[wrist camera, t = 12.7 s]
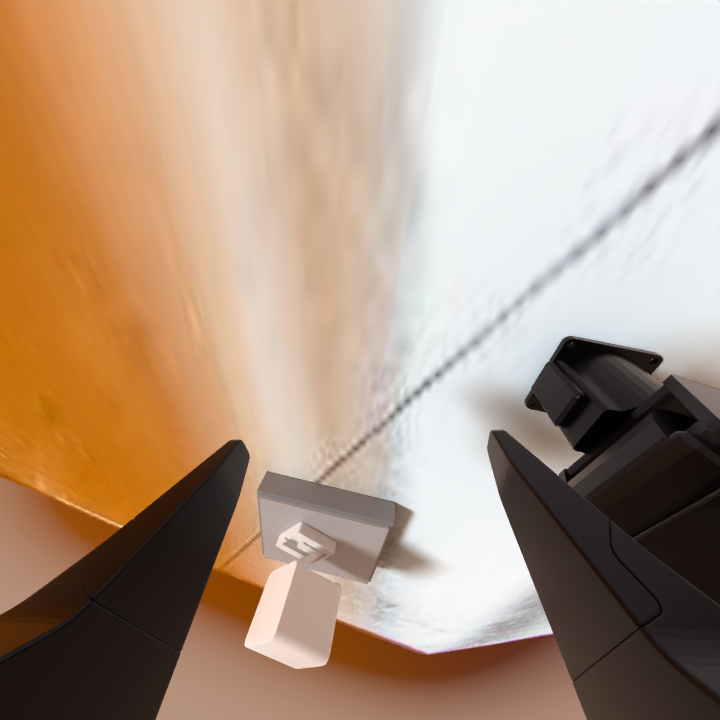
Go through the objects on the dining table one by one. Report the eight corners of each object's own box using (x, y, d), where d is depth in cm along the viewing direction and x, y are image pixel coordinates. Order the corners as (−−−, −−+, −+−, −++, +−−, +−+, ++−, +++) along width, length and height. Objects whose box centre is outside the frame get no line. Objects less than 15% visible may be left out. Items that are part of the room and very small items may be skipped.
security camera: (320, 559, 36) (293, 669, 28) (277, 535, 35) (234, 644, 26) (349, 546, 33) (328, 665, 25) (303, 519, 32) (264, 636, 23)
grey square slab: (395, 502, 32) (394, 528, 30) (372, 561, 41) (369, 586, 38) (266, 471, 33) (255, 494, 31) (270, 536, 42) (261, 557, 39)
